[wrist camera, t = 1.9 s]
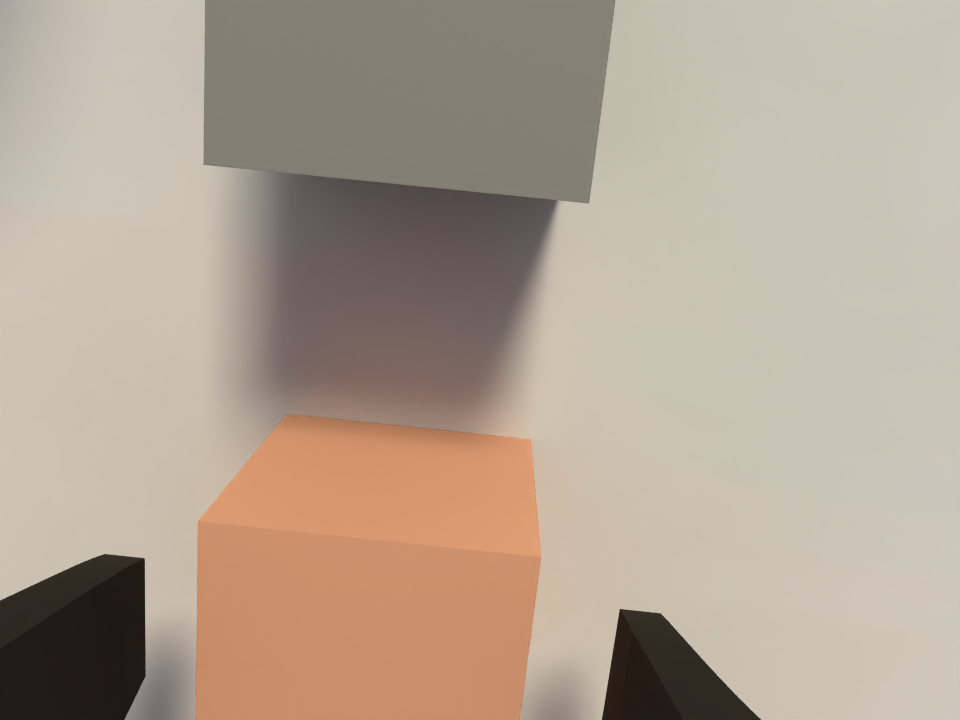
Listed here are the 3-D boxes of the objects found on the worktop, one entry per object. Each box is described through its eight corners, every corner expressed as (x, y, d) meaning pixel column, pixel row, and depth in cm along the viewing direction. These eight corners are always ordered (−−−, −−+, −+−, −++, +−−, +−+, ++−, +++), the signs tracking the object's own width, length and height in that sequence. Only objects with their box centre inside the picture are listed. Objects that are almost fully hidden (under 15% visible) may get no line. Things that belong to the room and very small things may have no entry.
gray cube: (561, 186, 14) (589, 204, 9) (298, 160, 14) (203, 164, 9) (596, -107, 13) (646, -243, 8) (309, -135, 13) (207, -287, 8)
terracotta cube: (504, 650, 16) (504, 837, 12) (279, 626, 16) (195, 805, 12) (531, 438, 15) (541, 557, 10) (288, 412, 15) (197, 520, 10)
